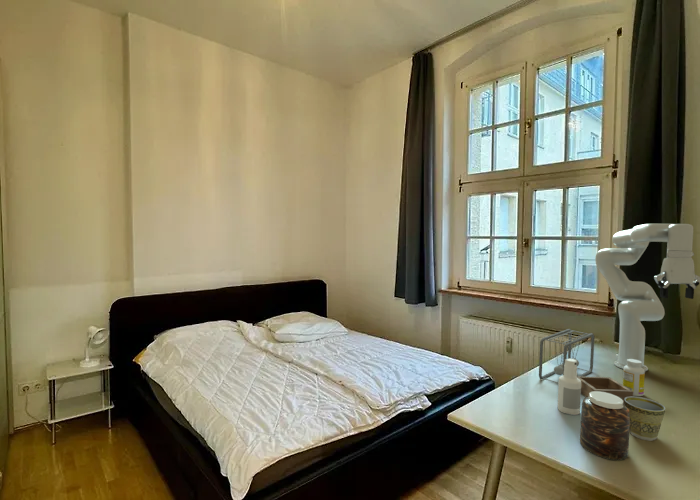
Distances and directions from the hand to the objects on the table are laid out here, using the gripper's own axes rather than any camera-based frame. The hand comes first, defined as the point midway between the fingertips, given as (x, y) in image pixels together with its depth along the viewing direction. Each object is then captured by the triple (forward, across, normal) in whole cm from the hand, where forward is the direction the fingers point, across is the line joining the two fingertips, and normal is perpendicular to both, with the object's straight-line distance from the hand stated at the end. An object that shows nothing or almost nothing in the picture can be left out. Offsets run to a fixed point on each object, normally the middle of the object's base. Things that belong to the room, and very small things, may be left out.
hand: (676, 298), depth 151 cm
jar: (+37, +54, +46) cm, 80 cm away
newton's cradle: (+37, +36, -10) cm, 53 cm away
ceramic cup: (+37, +36, +37) cm, 64 cm away
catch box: (+37, +33, +10) cm, 50 cm away
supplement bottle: (+37, +19, +6) cm, 42 cm away
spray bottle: (+37, +52, +23) cm, 68 cm away
